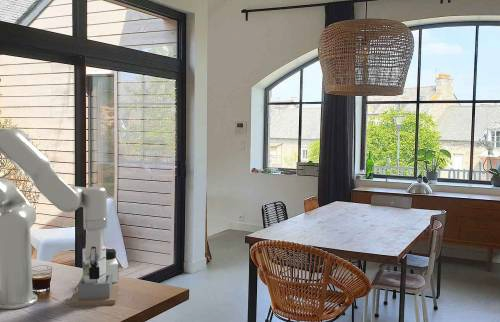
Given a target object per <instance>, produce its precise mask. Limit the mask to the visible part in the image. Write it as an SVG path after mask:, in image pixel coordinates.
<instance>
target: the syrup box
mask: <svg viewBox="0 0 500 322" xmlns="http://www.w3.org/2000/svg"><path fill="white" fill-rule="evenodd" d="M106 248H107V246H103V250H102V256H101V258H100V259H99V265H98V267H99V279H89V265H90V257H89V259H88V260H87V259H86V258H85V254H86V246H85V247H84V248H82V276H83V283H106ZM95 258H97V253H96V254H95ZM95 261H96V263H97V260H95Z"/></svg>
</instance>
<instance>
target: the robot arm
mask: <svg viewBox="0 0 500 322" xmlns="http://www.w3.org/2000/svg"><path fill="white" fill-rule="evenodd" d="M0 154H2V155H3V156H4V157H5V158H6V159H7V160H9V161H10V162H11V164H13V165H14V166H15V167H16V168H17V169H19V171H20V172H22V173H23V174H24V175H25V176H26V177H27V178H28V179H29V181H30V182H31V183H32V184H33V185H34V186H35V188H36V189H37V190H38V191H39V192H40V194H42V196H43V197H44V198H45V199H47V200H48V201H49V202H50V204H52V205H53V206H54V207H56V208H57V209H58V210H60V211H61V212H64V213H73V212H75V211H76V210H78V209H79V208H82V209H83V210H82V212H83V215H82V217H83V230H85V231H86V232H85V247H86V254H85V258H86V259H87V260H88V259H89V257H90V265H89V279H99V267H98V265H99V259H100V258H101V256H102V250H103V246H104V239H105V237H104V230H105V229H107V228H108V217H107V216H108V213H107V211H108V209H107V206H108V205H107V201H108V200H107V198H108V197H107V190H106V188H105V187H103V186H89V187H84V186H77V185H72V186H71V185H70V186H69V184H68V183H66V182H65V181H64V180H63V179H62V178H61V177H60V176H59V175H58V173H57V172H56V171H55V169H54V167H53V165H52V162H51V161H50V159H49V158H48V157H47V156H46V155H45V154H43V153H42V151H40V150H39V149H38V148H37V147H36V146H35V145H34V144H33V143H32V142H31V141H30V137H29V135H28V134H27V133H26V132H25V131H23V130H22V129H18V128H0ZM36 219H37V214H36V211H35V208H34V206H33V205H32V204H31V203H30V201H29V200H28V199H27V198H26V197H25V195H24V194H23V193H22V191H21V190H20V189H19V188H18V187H17V185H16V184H14V182H12V181H11V180H9V179H7V178H5V177H0V309H3V310H14V309H21V308H26V307H29V306H31V305H34V304H35V303H37V301H38V296H37V294H35V293H33V270H32V267H33V263H32V261H33V260H32V258H33V256H32V239H31V228H32V227H33V226H34V224H35V222H36V221H37V220H36ZM96 253H97V258H95V254H96ZM95 260H97V263H96V261H95Z"/></svg>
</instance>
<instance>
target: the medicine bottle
mask: <svg viewBox="0 0 500 322" xmlns="http://www.w3.org/2000/svg"><path fill="white" fill-rule="evenodd" d="M109 274H112V284H114V283H118V282H119V262H118V260H117V250H116V248H115V249H114V248H111V247H110V248H109V247H106V275H109Z"/></svg>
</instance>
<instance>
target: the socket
mask: <svg viewBox="0 0 500 322" xmlns="http://www.w3.org/2000/svg"><path fill="white" fill-rule="evenodd" d="M119 290H120V287H119V286H115V285H114V286H113V283H112V274H109V275H106V283H83V275H82V276H81V278H80V279H79V282H78V284H77V289H76V291H75V292H74V294H73V296H72V299H70V307H86V306H87V307H88V306H91V307H92V306H111V305H113V304H114V305H116V304H117V303H116V302H117V299H118V295H119Z"/></svg>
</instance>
